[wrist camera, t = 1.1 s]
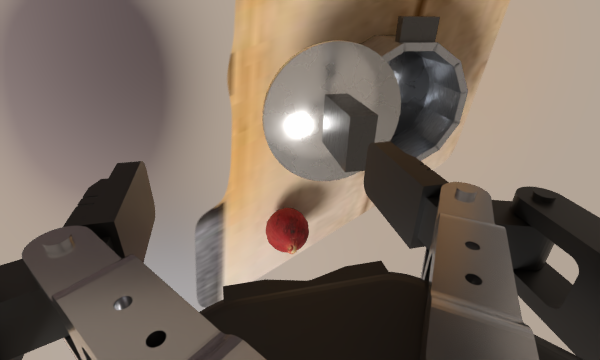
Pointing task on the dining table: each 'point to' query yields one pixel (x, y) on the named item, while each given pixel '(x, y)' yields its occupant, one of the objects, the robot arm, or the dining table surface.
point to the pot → (423, 84)
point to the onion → (287, 230)
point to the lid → (330, 109)
